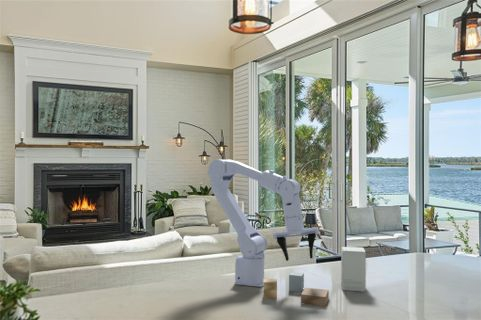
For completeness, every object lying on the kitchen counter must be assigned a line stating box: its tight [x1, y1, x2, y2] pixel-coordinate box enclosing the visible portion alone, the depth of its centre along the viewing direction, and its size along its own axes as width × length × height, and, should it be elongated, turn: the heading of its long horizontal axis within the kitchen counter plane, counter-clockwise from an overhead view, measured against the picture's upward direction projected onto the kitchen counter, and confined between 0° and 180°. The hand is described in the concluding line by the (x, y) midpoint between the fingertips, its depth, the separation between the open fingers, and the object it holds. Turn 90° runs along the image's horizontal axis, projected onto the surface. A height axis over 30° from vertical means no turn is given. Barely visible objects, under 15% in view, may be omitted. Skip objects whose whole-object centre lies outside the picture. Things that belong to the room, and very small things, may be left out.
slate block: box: [288, 271, 305, 292], centre depth 135 cm, size 4×4×5 cm
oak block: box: [263, 277, 278, 300], centre depth 128 cm, size 4×4×5 cm
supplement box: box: [340, 246, 367, 292], centre depth 137 cm, size 7×7×13 cm
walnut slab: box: [300, 287, 330, 307], centre depth 124 cm, size 7×7×3 cm
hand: (299, 259), depth 135 cm, fingers open, 7 cm apart
